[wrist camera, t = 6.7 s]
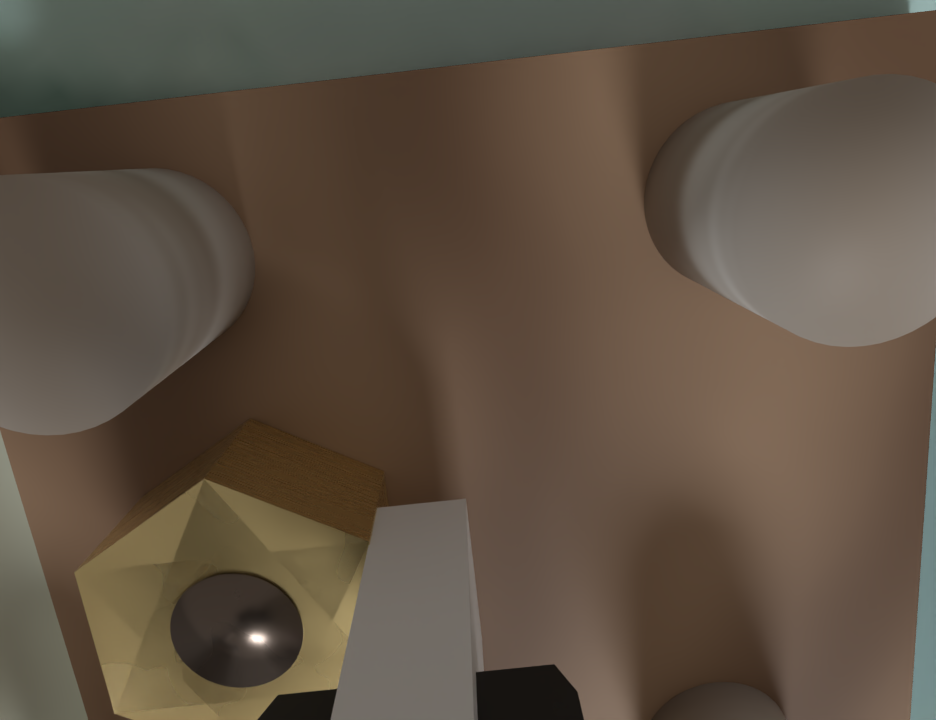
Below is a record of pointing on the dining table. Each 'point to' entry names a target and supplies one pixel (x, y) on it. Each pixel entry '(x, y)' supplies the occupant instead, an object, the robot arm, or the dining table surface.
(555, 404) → the board
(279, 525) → the brass nut
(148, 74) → the dining table surface
